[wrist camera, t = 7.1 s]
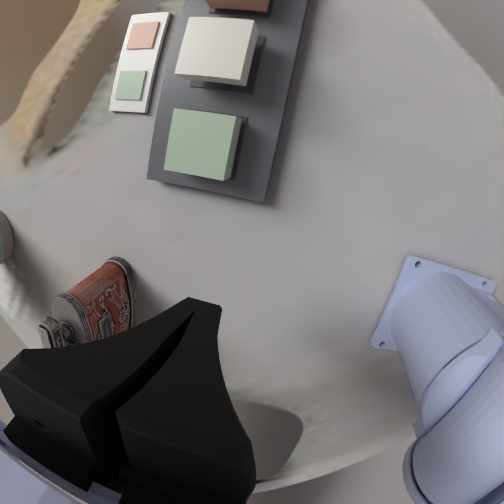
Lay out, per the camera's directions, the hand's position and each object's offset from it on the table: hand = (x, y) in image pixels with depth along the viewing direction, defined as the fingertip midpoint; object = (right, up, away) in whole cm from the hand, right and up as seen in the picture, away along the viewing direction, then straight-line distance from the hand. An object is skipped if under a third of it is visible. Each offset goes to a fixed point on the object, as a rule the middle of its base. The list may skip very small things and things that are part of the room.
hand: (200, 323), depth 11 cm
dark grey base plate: (+1, +15, +6) cm, 16 cm away
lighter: (-10, -1, +14) cm, 17 cm away
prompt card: (-6, +16, +6) cm, 19 cm away
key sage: (-1, +9, +6) cm, 11 cm away
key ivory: (0, +14, +3) cm, 14 cm away
